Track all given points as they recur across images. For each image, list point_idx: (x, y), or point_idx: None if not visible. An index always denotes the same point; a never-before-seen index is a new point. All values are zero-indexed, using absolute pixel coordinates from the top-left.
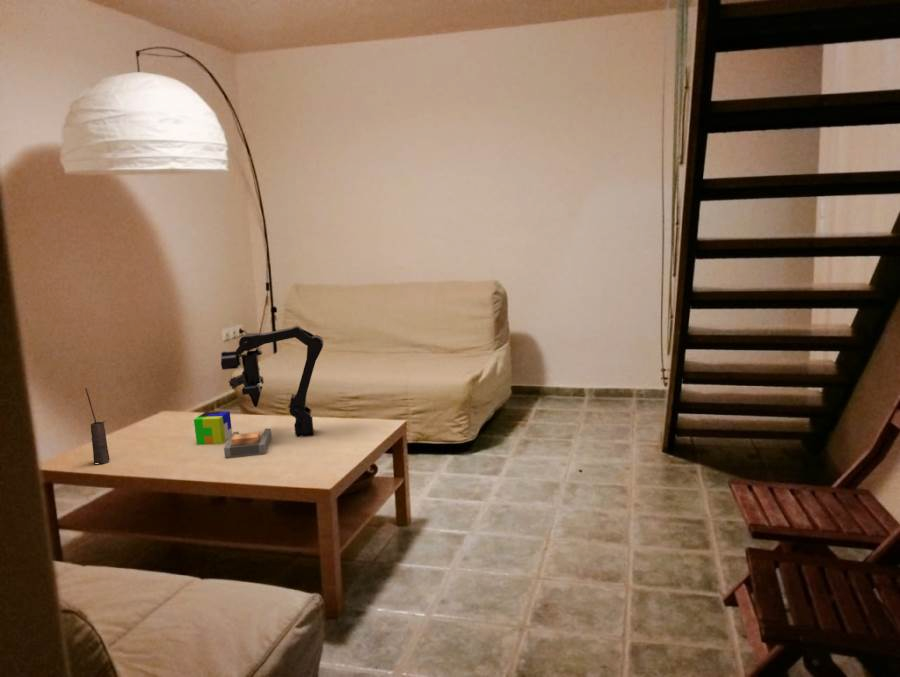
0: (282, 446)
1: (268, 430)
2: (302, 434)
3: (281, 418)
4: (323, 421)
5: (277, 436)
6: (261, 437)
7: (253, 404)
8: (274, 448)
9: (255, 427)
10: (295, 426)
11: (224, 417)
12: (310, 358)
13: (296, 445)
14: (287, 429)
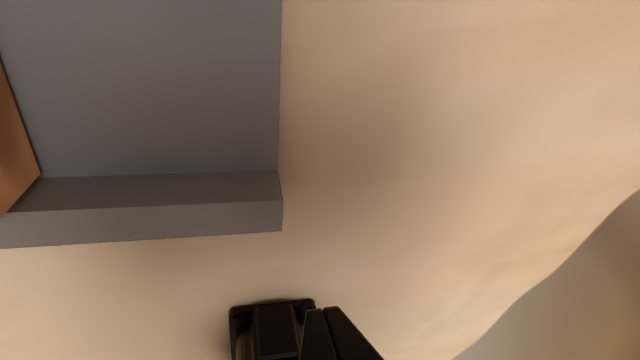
0: (63, 275)
1: (229, 227)
2: (237, 333)
3: (604, 193)
4: (426, 351)
5: None
6: (258, 146)
7: (302, 345)
8: None
9: (547, 68)
10: (256, 348)
11: None
12: None
13: (75, 329)
14: (390, 248)
